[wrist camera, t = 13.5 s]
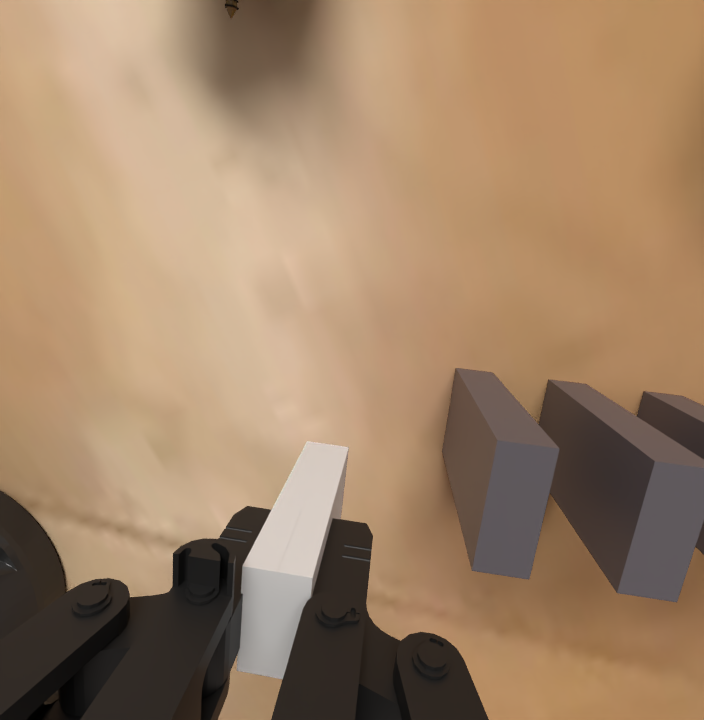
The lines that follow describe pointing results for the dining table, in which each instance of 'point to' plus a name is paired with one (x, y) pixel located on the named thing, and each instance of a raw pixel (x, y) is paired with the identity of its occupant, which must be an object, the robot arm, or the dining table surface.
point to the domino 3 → (676, 425)
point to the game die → (231, 7)
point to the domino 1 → (497, 473)
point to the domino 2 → (624, 490)
